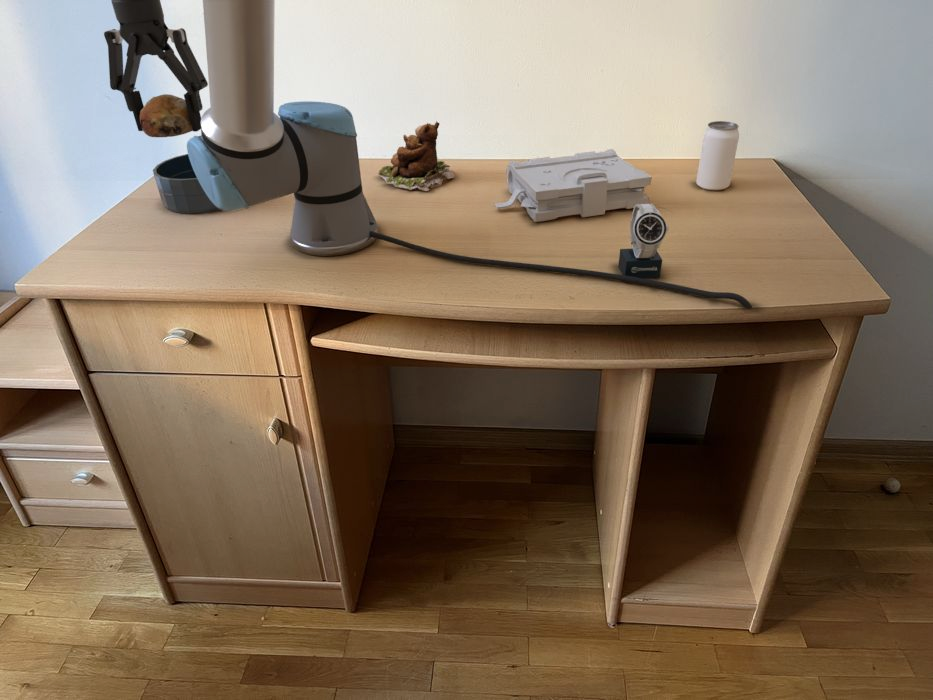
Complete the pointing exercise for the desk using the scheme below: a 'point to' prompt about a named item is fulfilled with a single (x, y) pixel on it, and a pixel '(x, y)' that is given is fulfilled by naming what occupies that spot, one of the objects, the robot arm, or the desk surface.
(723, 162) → the can
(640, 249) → the watch
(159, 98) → the bread roll
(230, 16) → the robot arm
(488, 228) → the desk surface
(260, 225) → the desk surface
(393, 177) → the bear figurine
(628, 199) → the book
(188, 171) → the dark blue bowl
